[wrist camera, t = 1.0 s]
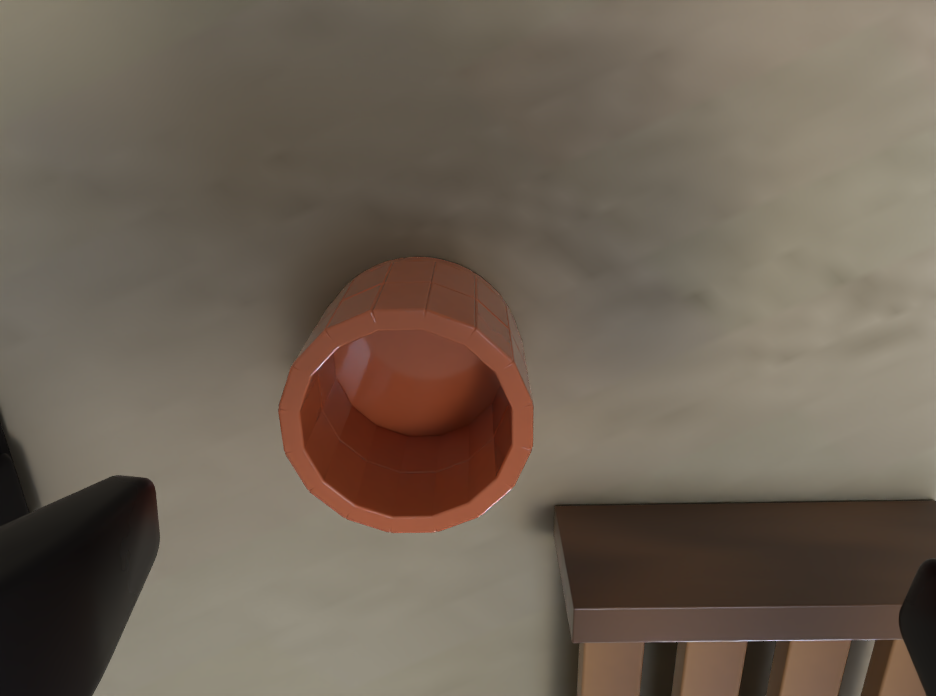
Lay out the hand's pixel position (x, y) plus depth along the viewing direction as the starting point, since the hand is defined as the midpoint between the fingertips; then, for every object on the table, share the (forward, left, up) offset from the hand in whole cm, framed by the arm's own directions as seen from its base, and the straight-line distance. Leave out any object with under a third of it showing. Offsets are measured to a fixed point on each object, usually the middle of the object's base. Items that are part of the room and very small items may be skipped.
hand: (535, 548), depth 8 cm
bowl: (-2, -2, -12) cm, 12 cm away
